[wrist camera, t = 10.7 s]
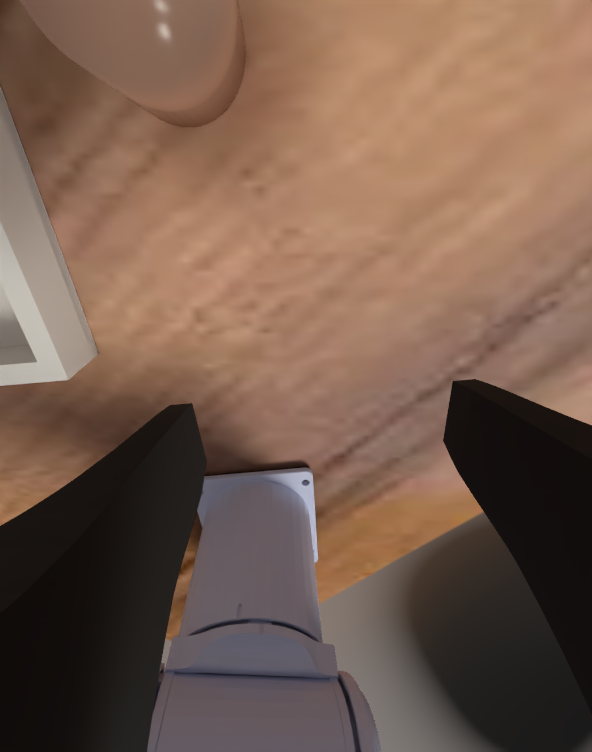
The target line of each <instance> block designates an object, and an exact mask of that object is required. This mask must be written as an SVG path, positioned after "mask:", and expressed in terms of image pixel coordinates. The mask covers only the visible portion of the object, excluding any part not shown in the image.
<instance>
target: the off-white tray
mask: <svg viewBox="0 0 592 752" xmlns="http://www.w3.org/2000/svg"><path fill="white" fill-rule="evenodd" d="M98 354H99V353H98V350H97V347H96V345H95V342H94V339H93V336H92V334H91V331H90V328H89V325H88V323H87V320H86V317H85V315H84V312H83V309H82V306H81V304H80V301H79V298H78V296H77V293H76V290H75V287H74V285H73V282H72V279H71V277H70V274H69V271H68V268H67V266H66V263H65V260H64V258H63V255H62V252H61V249H60V247H59V244H58V241H57V239H56V236H55V233H54V230H53V228H52V225H51V222H50V219H49V217H48V214H47V211H46V209H45V206H44V203H43V200H42V198H41V195H40V192H39V190H38V187H37V184H36V181H35V179H34V176H33V173H32V171H31V168H30V165H29V162H28V160H27V157H26V154H25V152H24V149H23V146H22V143H21V141H20V138H19V135H18V133H17V130H16V127H15V124H14V122H13V119H12V116H11V113H10V111H9V108H8V105H7V103H6V100H5V97H4V94H3V92H2V89H1V86H0V386H4V385H16V384H28V383H39V382H51V381H63V380H69V379H70V378H71V377H73V376H74V375H75V374H76V373H77V372H78V371H80V370H81V369H82V368H83V367H84V366H85V365H86V364H88V363H89V362H90V361H91V360H92V359H93V358H95V357H96V356H97V355H98Z"/></svg>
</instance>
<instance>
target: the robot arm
mask: <svg viewBox="0 0 592 752" xmlns="http://www.w3.org/2000/svg"><path fill="white" fill-rule="evenodd" d="M443 441H444V443H445V446H446V448H447V450H448V452H449V454H450V457H451V459H452V461H453V463H454V465H455V467H456V469H457V471H458V473H459V474H460V476H461V477H462V479H463V481H464V482H465V484H466V485H467V487H468V488H469V490H470V491H471V493H472V494H473V496H474V497H475V499H476V500H477V502H478V503H479V505H480V506H481V508H482V509H483V511H484V512H485V514H486V516H487V517H488V519H489V520H490V522H491V523H492V524H493V526H494V527H495V529H496V531H497V532H498V534H499V535H500V537H501V538H502V540H503V541H504V543H505V544H506V546H507V547H508V549H509V551H510V552H511V554H512V556H513V557H514V559H515V561H516V562H517V564H518V566H519V568H520V569H521V571H522V573H523V575H524V577H525V579H526V581H527V583H528V585H529V586H530V588H531V590H532V592H533V594H534V596H535V598H536V600H537V601H538V603H539V605H540V607H541V609H542V611H543V613H544V615H545V617H546V619H547V621H548V623H549V625H550V627H551V629H552V631H553V633H554V635H555V637H556V639H557V641H558V643H559V645H560V647H561V649H562V651H563V653H564V655H565V657H566V660H567V662H568V664H569V666H570V668H571V670H572V672H573V675H574V677H575V679H576V681H577V683H578V685H579V687H580V690H581V692H582V694H583V696H584V698H585V700H586V703H587V705H588V707H589V709H590V711H591V713H592V425H589V424H586V423H584V422H581V421H579V420H576V419H574V418H571V417H569V416H566V415H564V414H561V413H559V412H556V411H554V410H551V409H549V408H546V407H544V406H542V405H539V404H537V403H535V402H532V401H530V400H527V399H525V398H523V397H520V396H518V395H516V394H513V393H511V392H508V391H506V390H504V389H501V388H499V387H496V386H493V385H491V384H488V383H485V382H482V381H479V380H476V379H472V380H460V381H453V383H452V390H451V396H450V402H449V408H448V414H447V420H446V427H445V433H444V439H443ZM206 462H207V461H206V457H205V453H204V449H203V445H202V441H201V437H200V433H199V429H198V425H197V421H196V417H195V413H194V409H193V405H192V403H191V404H180V405H170V406H168V407H167V408H165V409H164V410H163V411H161V412H160V413H159V414H157V415H156V416H155V417H154V418H153V419H151V420H150V421H149V422H148V423H146V424H145V425H144V426H143V427H142V428H140V429H139V430H138V431H137V432H135V433H134V434H133V435H132V436H130V437H129V438H128V439H127V440H125V441H124V442H123V443H122V444H121V445H119V446H118V447H117V448H116V449H114V450H113V451H112V452H110V453H109V454H108V455H106V456H105V457H104V458H102V459H101V460H100V461H98V462H97V463H96V464H94V465H93V466H92V467H90V468H89V469H88V470H86V471H85V472H84V473H82V474H81V475H80V476H78V477H77V478H75V479H74V480H73V481H71V482H70V483H68V484H67V485H65V486H64V487H62V488H61V489H59V490H58V491H57V492H55V493H54V494H52V495H50V496H49V497H47V498H46V499H44V500H43V501H41V502H39V503H38V504H36V505H35V506H33V507H32V508H30V509H28V510H27V511H25V512H24V513H22V514H20V515H19V516H17V517H15V518H14V519H12V520H10V521H8V522H6V523H5V524H3V525H1V526H0V752H382V750H381V745H380V740H379V736H378V731H377V728H376V724H375V720H374V717H373V714H372V711H371V709H370V706H369V704H368V702H367V700H366V698H365V696H364V695H363V693H362V692H361V690H360V688H359V687H358V684H357V683H356V681H355V680H354V678H353V677H352V676H351V675H350V674H349V673H348V672H345V671H338V670H337V662H336V655H335V647H334V645H331V644H324V643H323V641H322V631H321V621H320V612H319V602H318V592H317V582H316V573H315V562H317V561H318V551H317V535H316V519H315V503H314V488H313V474H312V470H311V469H309V468H294V469H283V470H271V471H260V472H249V473H237V474H226V475H214V476H205V469H206ZM303 480H308V481H303ZM197 511H198V515H199V518H200V522H201V525H202V533H201V537H200V542H199V546H198V551H197V555H196V559H195V564H194V568H193V573H192V577H191V581H190V586H189V590H188V595H187V599H186V604H185V608H184V612H183V617H182V621H181V626H180V630H179V634H178V636H174V637H173V639H172V643H171V647H170V651H169V656H168V660H167V664H166V668H165V667H164V663H161V660H162V654H163V648H164V642H165V637H166V632H167V626H168V621H169V616H170V611H171V605H172V600H173V595H174V591H175V587H176V583H177V579H178V575H179V571H180V568H181V564H182V561H183V558H184V554H185V551H186V547H187V544H188V540H189V537H190V534H191V530H192V527H193V523H194V520H195V516H196V513H197ZM164 671H165V672H164Z"/></svg>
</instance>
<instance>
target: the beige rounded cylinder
mask: <svg viewBox="0 0 592 752" xmlns="http://www.w3.org/2000/svg"><path fill="white" fill-rule="evenodd" d="M20 2H21V3H22V5H23V7H24V8H25V10H26V11H27V13H28V14H29V15H30V17H31V18H32V20H33V21H34V23H35V24H36V25H37V26H38V28H39V29H40V30H41V31H42V32H43V34H44V35H45V36H46V37H47V38H48V39H49V40H50V41H51V42H52V43H53V44H54V45H55V46H56V47H57V48H58V49H59V50H60V51H61V52H62V53H64V54H65V55H66V56H67V57H68V58H70V59H71V60H72V61H73V62H75V63H76V64H78V65H79V66H81V67H82V68H84V69H85V70H87V71H88V72H90V73H91V74H93V75H94V76H96V77H97V78H99V79H100V80H102V81H103V82H105V83H106V84H108V85H109V86H110V87H112V88H113V89H115V90H116V91H118V92H119V93H121V94H122V95H124V96H125V97H127V98H128V99H130V100H131V101H133V102H134V103H136V104H137V105H139V106H140V107H142V108H143V109H145V110H146V111H148V112H149V113H151V114H152V115H154V116H155V117H157V118H158V119H160V120H162V121H164V122H166V123H168V124H171V125H175V126H179V127H198V126H202V125H205V124H208V123H210V122H212V121H214V120H216V119H217V118H218V117H220V116H221V115H222V114H223V113H224V112H225V111H226V110H227V109H228V108H229V106H230V105H231V104H232V102H233V101H234V99H235V97H236V95H237V93H238V91H239V88H240V85H241V82H242V78H243V74H244V68H245V54H246V52H245V39H244V32H243V27H242V22H241V17H240V12H239V7H238V2H237V0H20Z"/></svg>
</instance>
